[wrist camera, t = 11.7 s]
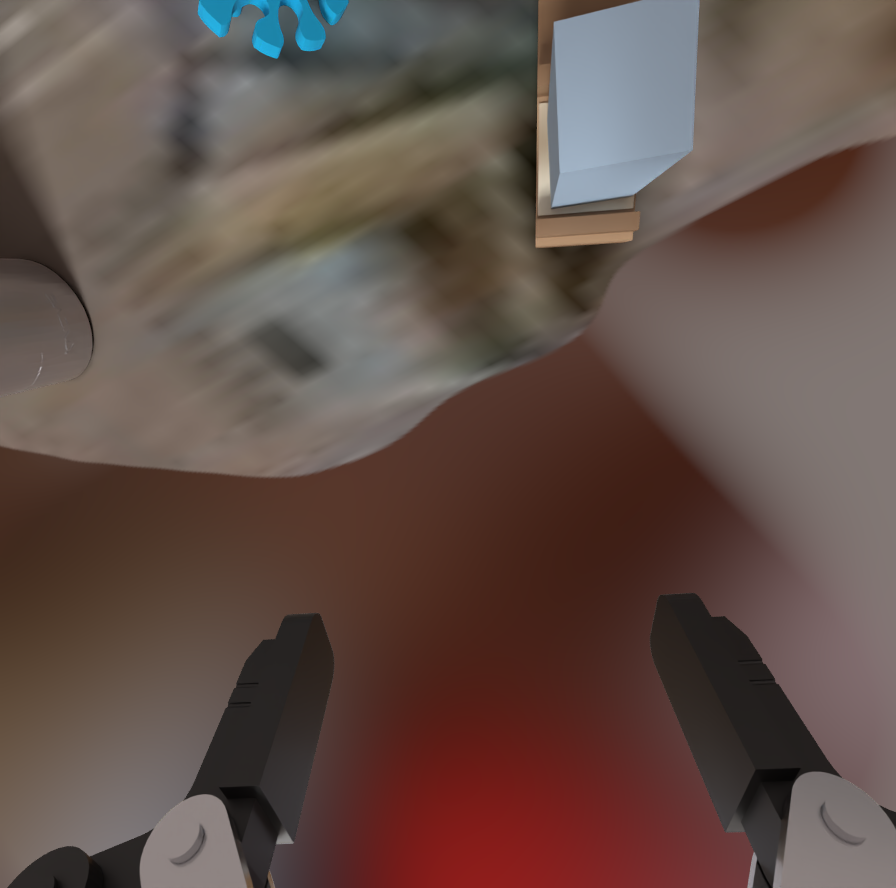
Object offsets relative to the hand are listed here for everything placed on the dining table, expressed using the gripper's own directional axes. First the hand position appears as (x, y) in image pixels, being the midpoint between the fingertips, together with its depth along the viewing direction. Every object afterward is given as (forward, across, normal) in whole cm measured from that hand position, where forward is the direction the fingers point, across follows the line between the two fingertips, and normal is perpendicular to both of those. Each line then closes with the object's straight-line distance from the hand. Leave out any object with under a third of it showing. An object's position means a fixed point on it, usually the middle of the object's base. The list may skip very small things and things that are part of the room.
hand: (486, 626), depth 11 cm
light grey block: (+20, -7, -10) cm, 23 cm away
